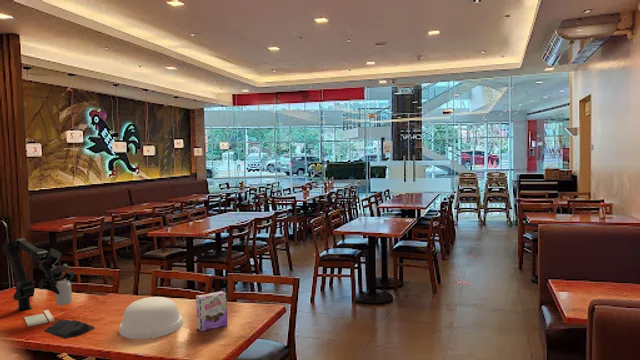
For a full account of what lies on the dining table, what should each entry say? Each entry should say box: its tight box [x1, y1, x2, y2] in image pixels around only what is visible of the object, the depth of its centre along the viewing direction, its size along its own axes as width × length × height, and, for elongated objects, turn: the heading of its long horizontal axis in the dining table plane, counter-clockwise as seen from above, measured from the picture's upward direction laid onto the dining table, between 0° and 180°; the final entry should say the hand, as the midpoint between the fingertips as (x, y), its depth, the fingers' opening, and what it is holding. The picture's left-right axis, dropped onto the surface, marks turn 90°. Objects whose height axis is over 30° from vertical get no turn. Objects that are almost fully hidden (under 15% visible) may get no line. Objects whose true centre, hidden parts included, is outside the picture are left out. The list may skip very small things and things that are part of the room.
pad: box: [24, 313, 49, 327], centre depth 255 cm, size 16×9×1 cm, turn 37°
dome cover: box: [118, 296, 184, 340], centre depth 240 cm, size 32×30×14 cm
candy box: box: [195, 290, 228, 332], centre depth 238 cm, size 14×6×16 cm, turn 122°
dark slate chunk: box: [43, 319, 95, 339], centre depth 239 cm, size 15×22×5 cm
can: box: [55, 280, 73, 306], centre depth 261 cm, size 8×8×12 cm
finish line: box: [43, 309, 56, 323], centre depth 261 cm, size 22×2×1 cm, turn 37°
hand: (65, 291), depth 260 cm, fingers closed on can, 7 cm apart
